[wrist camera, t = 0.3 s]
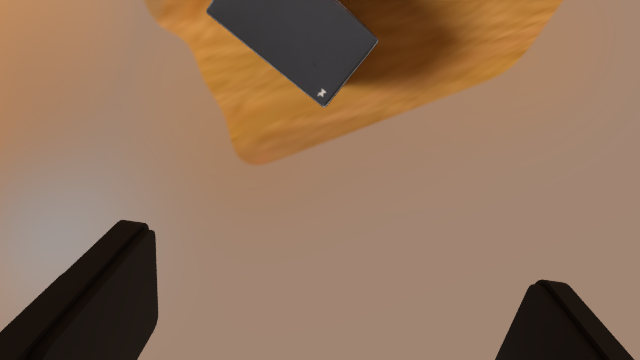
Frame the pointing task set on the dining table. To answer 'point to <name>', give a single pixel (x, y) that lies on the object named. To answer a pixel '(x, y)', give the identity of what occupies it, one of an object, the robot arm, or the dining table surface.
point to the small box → (300, 39)
